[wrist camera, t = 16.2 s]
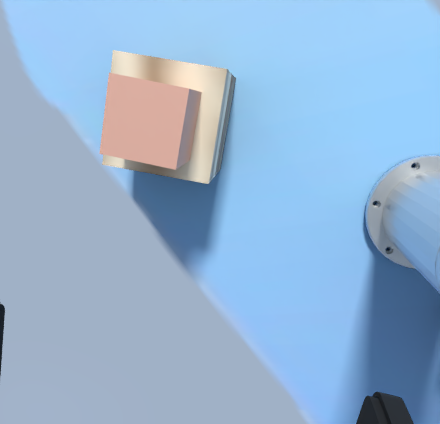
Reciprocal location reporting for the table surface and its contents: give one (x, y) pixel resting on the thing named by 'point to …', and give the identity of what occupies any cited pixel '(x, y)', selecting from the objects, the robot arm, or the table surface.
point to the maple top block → (207, 115)
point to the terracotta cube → (149, 121)
